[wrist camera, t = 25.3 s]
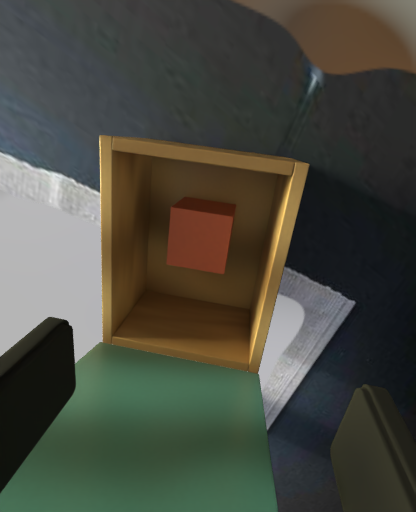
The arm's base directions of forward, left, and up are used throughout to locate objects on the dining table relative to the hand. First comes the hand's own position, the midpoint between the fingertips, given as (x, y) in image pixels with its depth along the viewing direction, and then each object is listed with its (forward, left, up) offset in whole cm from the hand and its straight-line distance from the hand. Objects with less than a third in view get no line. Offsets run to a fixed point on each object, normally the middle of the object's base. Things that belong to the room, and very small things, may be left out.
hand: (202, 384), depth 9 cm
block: (0, -3, -19) cm, 19 cm away
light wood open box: (+1, -3, -19) cm, 20 cm away
